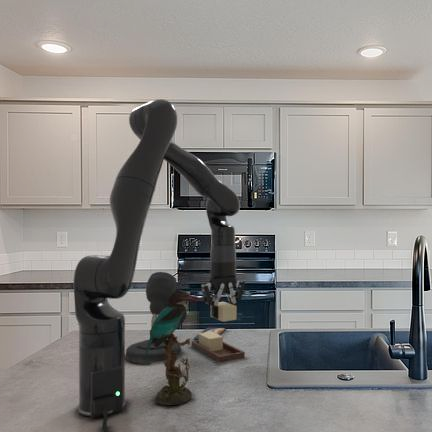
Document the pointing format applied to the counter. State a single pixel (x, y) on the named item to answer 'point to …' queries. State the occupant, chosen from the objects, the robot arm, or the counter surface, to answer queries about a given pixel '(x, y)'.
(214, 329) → the smartphone
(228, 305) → the pad
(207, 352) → the frame
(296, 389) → the counter surface
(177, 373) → the sculpture
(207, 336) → the pad
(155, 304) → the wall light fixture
